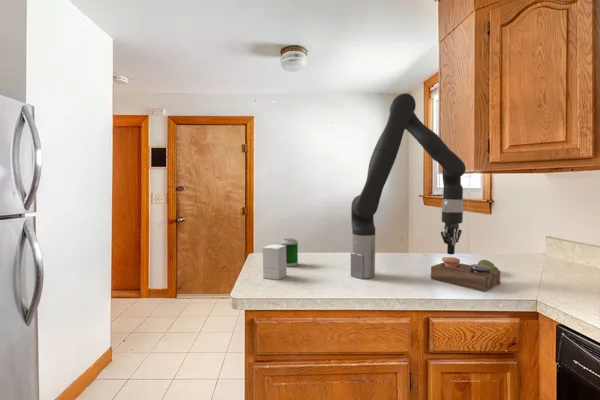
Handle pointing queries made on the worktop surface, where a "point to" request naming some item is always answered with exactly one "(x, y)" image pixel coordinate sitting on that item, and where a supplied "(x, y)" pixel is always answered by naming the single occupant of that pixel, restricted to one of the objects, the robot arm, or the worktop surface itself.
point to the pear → (488, 264)
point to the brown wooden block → (465, 276)
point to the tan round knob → (451, 262)
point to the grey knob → (480, 268)
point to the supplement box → (274, 261)
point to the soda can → (291, 251)
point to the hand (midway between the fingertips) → (450, 254)
